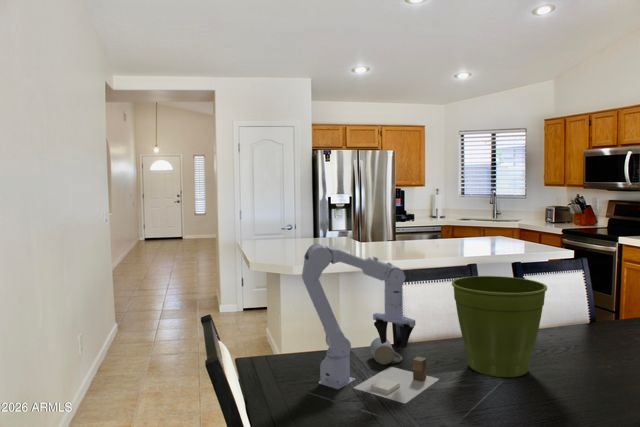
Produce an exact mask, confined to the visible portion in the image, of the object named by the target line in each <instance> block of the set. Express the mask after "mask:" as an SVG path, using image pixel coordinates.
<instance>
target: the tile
mask: <svg viewBox="0 0 640 427" xmlns="http://www.w3.org/2000/svg"><path fill="white" fill-rule="evenodd" d="M398 387H400V383H399V382H396V381H392V380H388V379H385V378H382V379H381V380H379V381H377V382H376V383H374V384H372V385H371V389H372V390H375V391H379V392H382V393H385V394H389V393H391V392H392V391H394V390H395V389H397V388H398Z"/></svg>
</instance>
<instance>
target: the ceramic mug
mask: <svg viewBox="0 0 640 427" xmlns="http://www.w3.org/2000/svg"><path fill="white" fill-rule="evenodd" d="M369 349H370V353H371V355H372V357H373V359H374V360H375V362H377V364H379V365H389V364H390V363H392V362H395V363H398V364H399V363H401V362H402V360H403V357H402V355H401V354H399V353H397V352H396V351H395V350H394V348H393V346H392V344H391V342H390V341H389V339H387V340H386V342H385V343H383V344H382V343H381V340H380V336H379V337H376V338H375V339H373V340H372V341H371V343H370V346H369Z"/></svg>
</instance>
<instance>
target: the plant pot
mask: <svg viewBox="0 0 640 427" xmlns="http://www.w3.org/2000/svg"><path fill="white" fill-rule="evenodd" d="M451 285H452V287H453V297H454V301H455V306H456V312H457V320H458V323H459V328H460V332H461V338H462V341H463V344H464V349H465V352H466V355H467V365H468V367H469V368H470V369H471V370H473V371H475V372H477V373H479V374H483V375H486V376H489V377H496V378H516V377H521V376H524V375H525V374H527V373H528V372H529V370H530V360H531V358H532V354H533V352H534V347H535V344H536V340H537V337H538V333H539V330H540V329H539V328H540V323H541V321H542V313H543V309H544V308H543V307H544V306H545V297H546V296H545V295H546V291H548V286H547V285H546V284H545V283H543V282H539V281H536V280H533V279H528V278H521V277H513V276H501V275H477V276H475V275H473V276H465V277H459V278H456V279H454V280H452V281H451Z"/></svg>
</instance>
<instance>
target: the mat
mask: <svg viewBox="0 0 640 427" xmlns="http://www.w3.org/2000/svg"><path fill="white" fill-rule="evenodd" d="M382 378H385V379H388V380H392V381H396V382H399V383H400V387H398V388H397V389H395V390H394V391H392V392H391V393H389V394H385V393H382V392H379V391H375V390H372V389H371V385H372V384H374V383H376V382H377V381H379V380H381V379H382ZM439 380H440V378H438V377H437V378H436V377H434V376H430V375H426V379H425V380H424V381H422V382H421V381H417V380H413V371H410V370H405V369H403V368H402V369H401V368H397V367H393V366H389V367H387V368H385V369H384V370H382V371H380V372H379V373H377V374H375V375H373V376H371V377H370V378H368V379H366V380H364V381H362V382H361V383H359V384H357V385H355V386H354V387H353V389H355V390H359V391H361V392H365V393H367V394H372V395H375V396H379V397H381V398H383V399H384V398H385V399H389V400H391V401H395V402H398V403H401V404H404V405H406V404H407V403H409V402H410V401H411V400H413V399H414V398H416V397H417V396H418V395H420V394H421V393H422V392H424V391H426V389H428V388H430V387H431V386H432V385H434V384H435V383H436V382H437V381H439Z"/></svg>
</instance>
